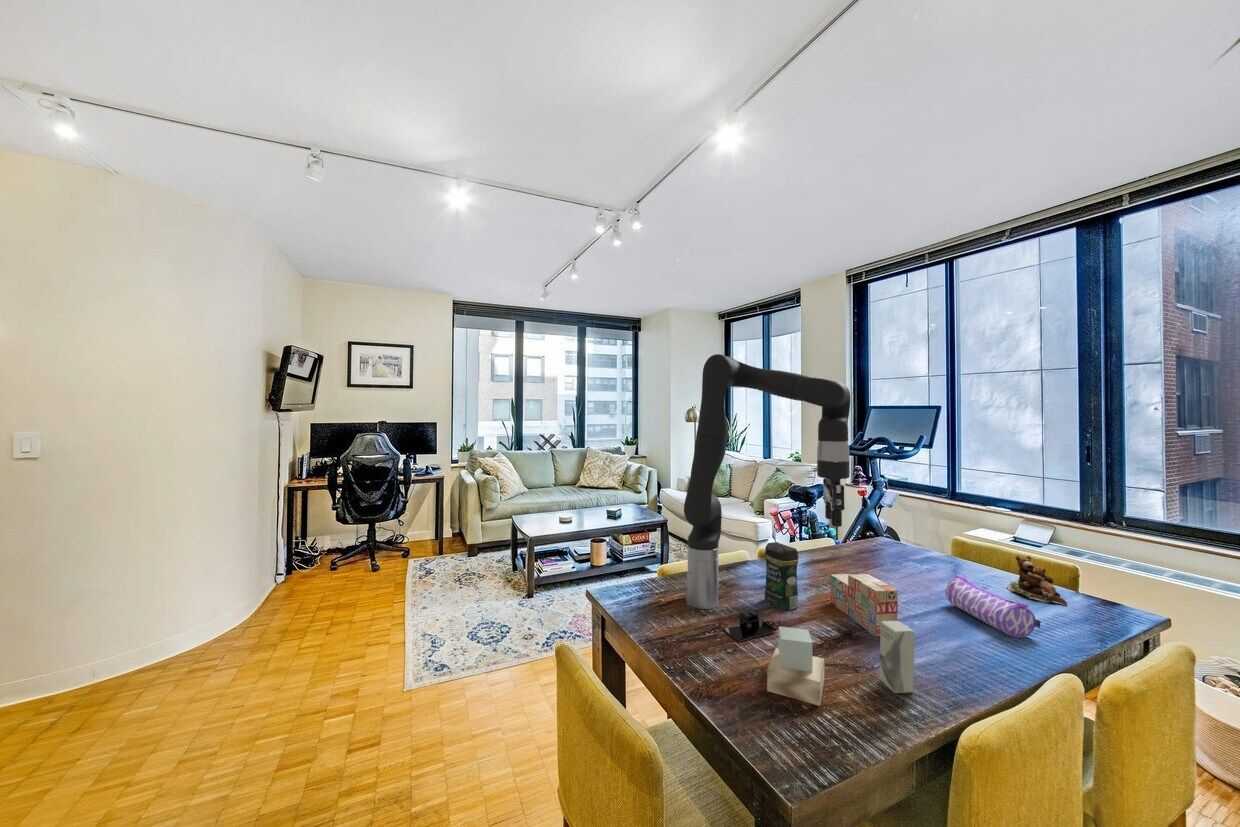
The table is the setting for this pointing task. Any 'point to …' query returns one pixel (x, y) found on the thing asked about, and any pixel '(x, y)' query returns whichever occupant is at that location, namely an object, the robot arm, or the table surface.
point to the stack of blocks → (864, 600)
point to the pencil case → (991, 608)
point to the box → (897, 656)
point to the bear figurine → (1035, 583)
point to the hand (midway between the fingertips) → (833, 522)
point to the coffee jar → (781, 576)
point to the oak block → (796, 680)
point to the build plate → (749, 627)
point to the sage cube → (795, 649)
